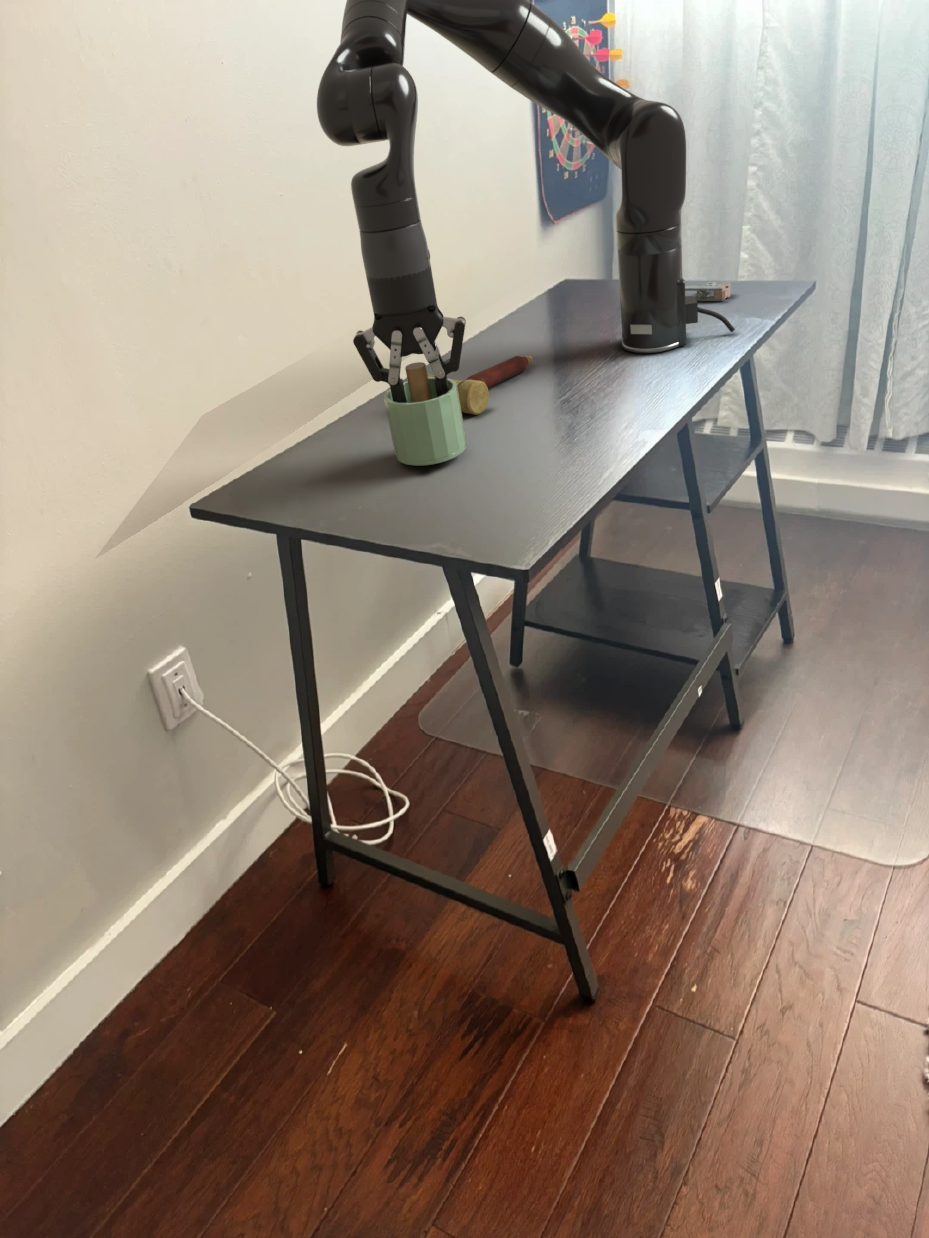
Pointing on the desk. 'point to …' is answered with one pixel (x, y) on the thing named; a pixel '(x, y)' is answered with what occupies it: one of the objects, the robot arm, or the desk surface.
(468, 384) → the gavel
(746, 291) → the desk surface
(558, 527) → the desk surface
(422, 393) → the stick
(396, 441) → the cup
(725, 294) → the clamp
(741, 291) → the desk surface
